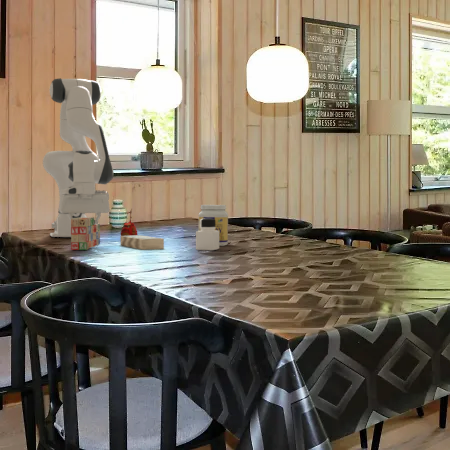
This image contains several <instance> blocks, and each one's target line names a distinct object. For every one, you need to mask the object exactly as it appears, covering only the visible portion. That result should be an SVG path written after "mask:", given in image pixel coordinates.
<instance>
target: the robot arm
mask: <svg viewBox="0 0 450 450" xmlns="http://www.w3.org/2000/svg"><path fill="white" fill-rule="evenodd" d="M49 96H50V98H51V99H52V101H53V102H55V103H58V104H60V105H61V106H60V110H59V111H60V113H59V136H60V139H62V141H64V142H65V143H67V144H69V145H70V146H71V148H72V150H53V151H48V152H46V153H45V154H44V156H43V159H42V167H43V169H44V171H45V172H46V173H47V174H48V175H50V176H51V177H52V178H53V180H55V183H56V184H57V187H58V194H59V202H58V208H57V209H58V216H57V217H56V219H55V220H54V222H51V228H52V229H53V230H54V232H50V233H49V236H51V237H52V238H55V237H57V238H59V237H60V238H71V219H74V218H79V217H88V216H87V215H86V214H95V216H96V217H95V218H94V224H99V219H100V218H101V215H102V214H108V213H109V212H110V202H109V201H110V193H109V192H107V191H106V190H97V189H96V184H99V185H108V184H109V183H110V182H112V180H113V177H114V168H113V165H112V163H111V158H110V155H109V151H108V145H107V142H106V137H105V134H104V130H103V127H102V125H101V124H100V123H97V121H96V120H95V119H96V118H95V116H94V109H93V106H94V105H96V104H98V102H100V99H101V96H102V89H101V85H100V84H99V82H97V81H96V80H91V79H90V80H88V79H83V78H54V79H53V80H51V83H50V85H49ZM87 138H89V139H90V140H92V141H93V142H94V144H95V147H96V151H97V154H96V153H95V152H94V151H93V150H92V149H91V147H90V146H89V144H88V142H87Z"/></svg>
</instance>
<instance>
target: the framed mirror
mask: <svg viewBox="0 0 450 450" xmlns="http://www.w3.org/2000/svg"><path fill="white" fill-rule="evenodd" d="M164 244H165V238H161V237H153V236H148V235H140V234H139V235H132V236H121V235H120V246H123V247H126V248H132V249H138V250H144V251H145V250H161V249H163V250H164V249H165V248H164V247H165V245H164Z"/></svg>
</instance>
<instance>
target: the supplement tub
mask: <svg viewBox="0 0 450 450" xmlns="http://www.w3.org/2000/svg"><path fill="white" fill-rule="evenodd" d="M226 209H227V205H226V204H200V210H201V211H200V212H199V213H198V231H201V229H200V220H201V219H204V218H212V219H215V230H217V231H219V247H223V246H227V245H228V243H229V242H228V240H229V239H228V238H229V237H228V236H229V233H228V232H229V214H228V212H227V211H226Z"/></svg>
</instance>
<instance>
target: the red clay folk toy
mask: <svg viewBox="0 0 450 450" xmlns="http://www.w3.org/2000/svg"><path fill="white" fill-rule="evenodd" d="M132 210H133V208H131V209H130V211H126V214H129V222H124V223H123V227H122V229H121V230H120V237H121V236H132V235H138V230H137V226H135V223H134V222H132Z"/></svg>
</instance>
